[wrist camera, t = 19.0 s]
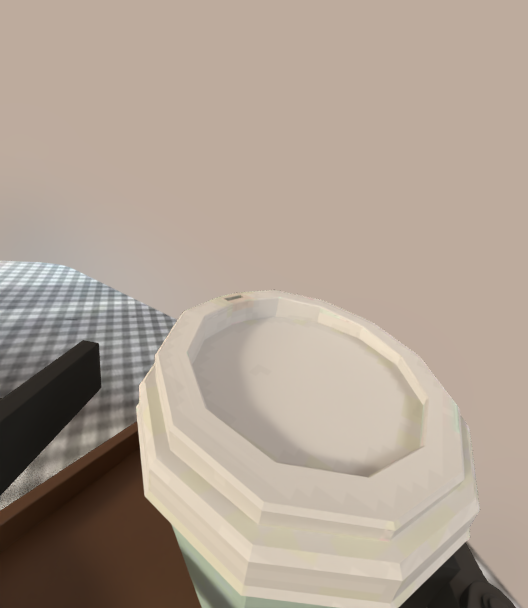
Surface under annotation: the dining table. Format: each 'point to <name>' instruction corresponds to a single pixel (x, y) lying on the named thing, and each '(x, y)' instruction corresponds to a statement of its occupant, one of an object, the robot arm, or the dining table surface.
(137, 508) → the tray
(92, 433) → the dining table surface
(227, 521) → the disposable coffee cup
